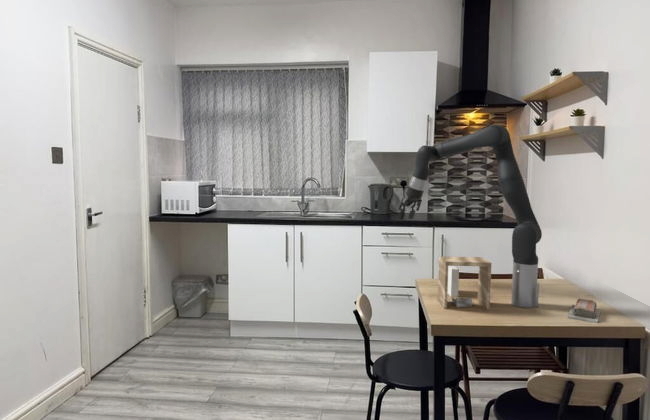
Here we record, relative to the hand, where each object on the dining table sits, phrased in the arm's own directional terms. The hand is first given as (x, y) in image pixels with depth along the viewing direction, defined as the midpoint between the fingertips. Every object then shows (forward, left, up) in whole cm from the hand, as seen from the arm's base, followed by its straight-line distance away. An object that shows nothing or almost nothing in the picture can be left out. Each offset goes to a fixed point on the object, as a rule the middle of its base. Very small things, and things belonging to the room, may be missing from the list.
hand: (405, 219), depth 228 cm
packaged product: (-61, +48, -31) cm, 84 cm away
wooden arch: (-18, +38, -31) cm, 52 cm away
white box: (-18, +19, -31) cm, 40 cm away
